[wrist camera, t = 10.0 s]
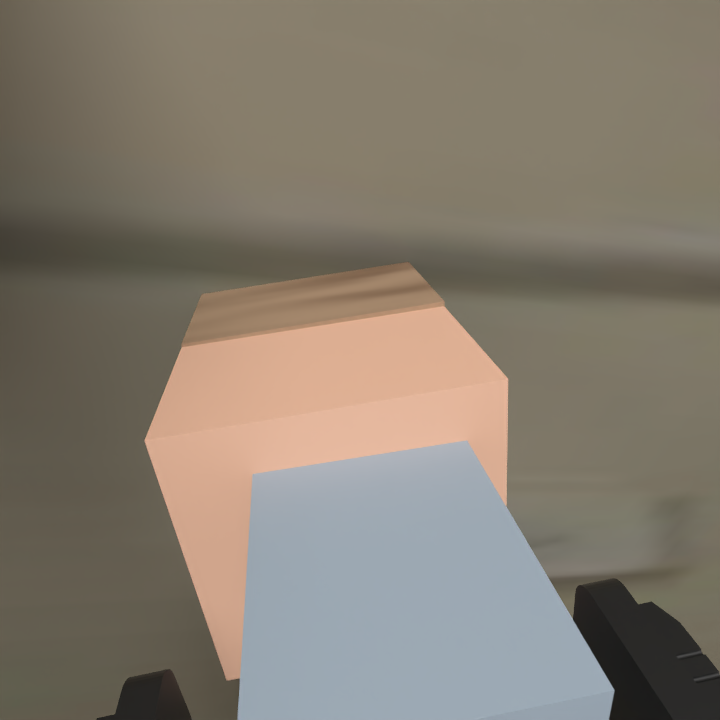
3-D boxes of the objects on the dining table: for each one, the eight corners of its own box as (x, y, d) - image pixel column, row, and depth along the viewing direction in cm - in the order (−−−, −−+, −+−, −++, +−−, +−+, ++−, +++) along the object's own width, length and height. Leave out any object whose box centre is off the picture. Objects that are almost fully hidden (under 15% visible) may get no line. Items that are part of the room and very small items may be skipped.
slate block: (252, 474, 12) (234, 770, 7) (467, 440, 12) (613, 690, 7) (284, 625, 14) (291, 941, 9) (466, 592, 15) (579, 871, 9)
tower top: (181, 347, 16) (144, 440, 11) (443, 306, 16) (508, 379, 12) (238, 547, 19) (226, 680, 15) (452, 507, 20) (505, 622, 15)
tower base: (201, 293, 20) (181, 344, 16) (407, 261, 21) (444, 301, 16) (246, 463, 24) (239, 545, 19) (421, 431, 24) (454, 503, 20)
